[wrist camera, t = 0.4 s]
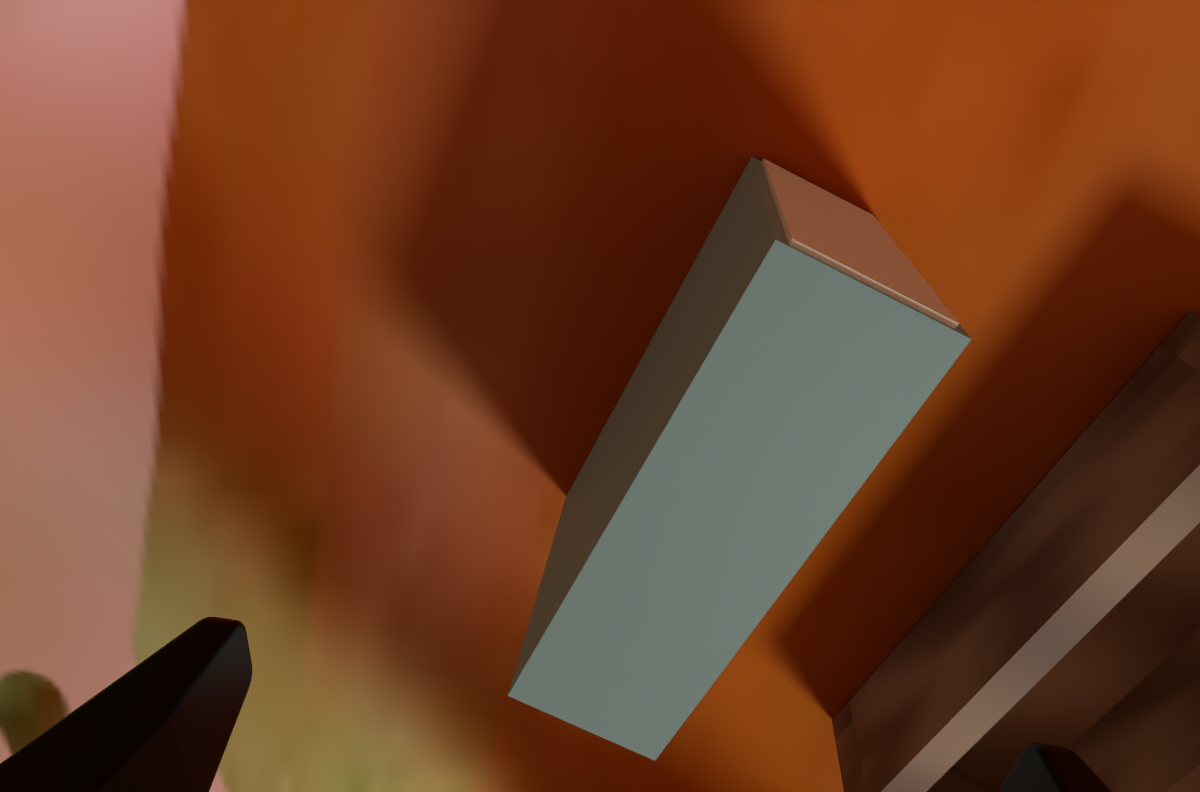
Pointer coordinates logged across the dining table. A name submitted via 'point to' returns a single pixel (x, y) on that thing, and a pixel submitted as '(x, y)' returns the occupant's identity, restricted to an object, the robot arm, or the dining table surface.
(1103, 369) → the dining table surface
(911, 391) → the teal book
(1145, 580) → the book rack
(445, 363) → the dining table surface
